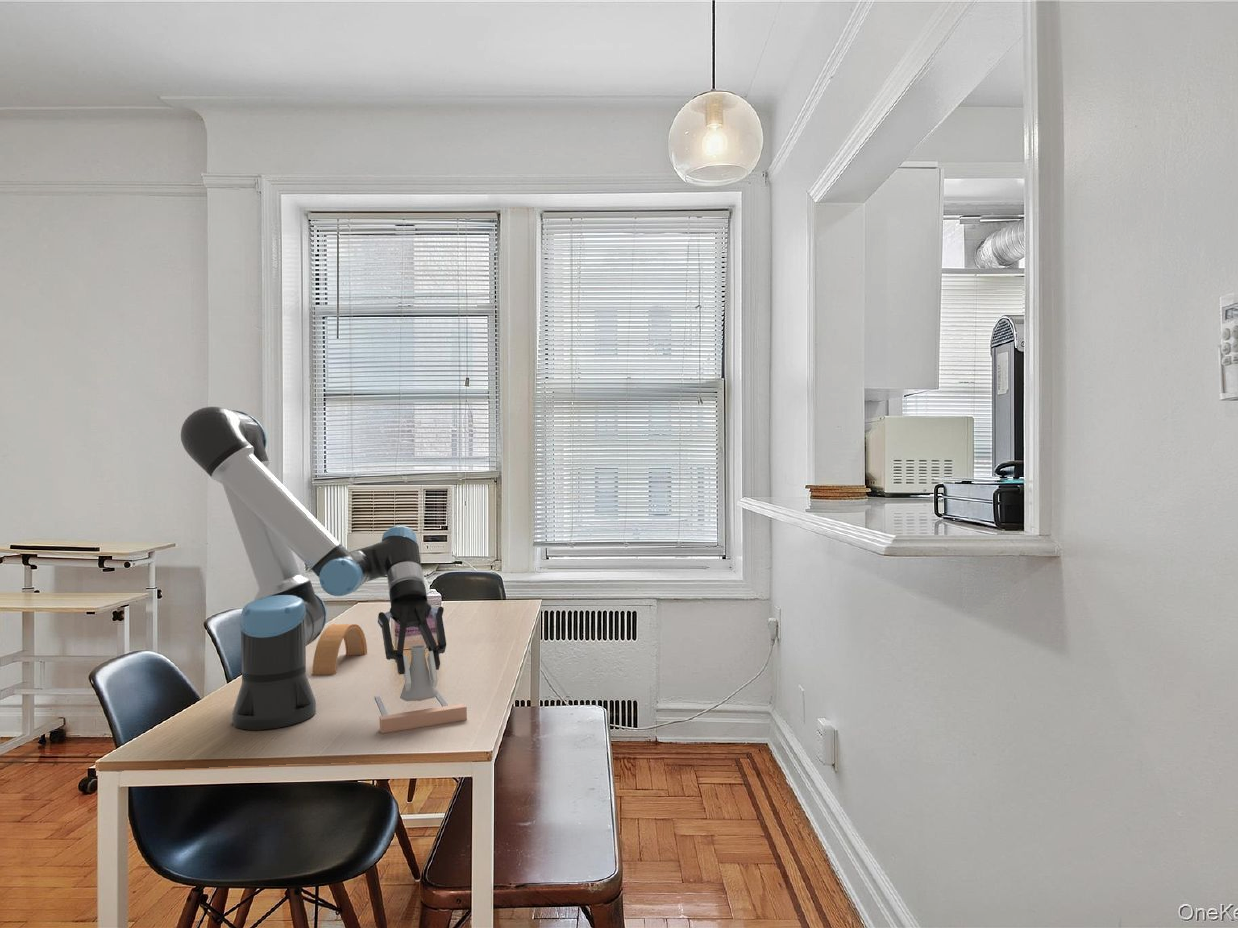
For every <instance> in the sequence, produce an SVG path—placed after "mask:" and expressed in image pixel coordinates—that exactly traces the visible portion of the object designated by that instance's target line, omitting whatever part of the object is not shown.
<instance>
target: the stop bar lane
mask: <svg viewBox="0 0 1238 928" xmlns="http://www.w3.org/2000/svg"><path fill="white" fill-rule="evenodd" d="M436 691H437V695H436V696H435V698H436V699H437V700H438V701H439V703H440V704H441V705H442V706H437V707H429V708H423V709H418V710H411V711H405V712H397V713H392V714H388V711H387V709H386V707H385V705H384V703H383V701H382V699H381V696H379V695H377V696H374V699H375V701H376V703H377V706H378V708H379V710H380V712H381V715H379V731H380V733H381V734H386V733H392V732H399V731H405V730H412V729H416V728H417V729H418V728H423V727H429V726H430V727H431V726H436V725H442V724H448V723H453V722H460V721H466V720H468V719H467V718H468V717H467V715H468V712H467V709H468V708H467V705H466V704H465V703H457V704H448V703H447V702H446V701H445V699H444V698H443V696H442V695H441V694H440V692H439V691H438V690H437V689H436Z"/></svg>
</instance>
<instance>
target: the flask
mask: <svg viewBox="0 0 1238 928" xmlns="http://www.w3.org/2000/svg"><path fill="white" fill-rule="evenodd" d="M426 649H427V646H426V644H416V645H411V646H410V647H409V650H410V651H411V655H410V656H411V657H410V658H411V659H410V663H409V670H410V677H411V688H410V691H406V688H405V683H404V684H403V687H402V690H401V693H400V695H399V698H400V699H401V700H403V701H405V702H422V701H426V700H430V699H431V700H432V699H434V698H436V695H437V691H438V690H437V688H436V687H432V684H431V678H430V672H429V666H428V665H427V664H428V662H427V659H426ZM436 690H437V691H436Z"/></svg>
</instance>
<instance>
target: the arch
mask: <svg viewBox="0 0 1238 928" xmlns="http://www.w3.org/2000/svg"><path fill="white" fill-rule="evenodd" d="M361 627H362V626H360V625H359V624H356V623H349V624H347V623H346V624H344V623H343V624H340V623H339V624H338V623H337V624H329V625H328V626H326V628H324V629H323V630H322V632H321V633H320V635H319V636H320V637H319V639H318V642H317V643H316V647H315V650H314V656H313V661H312V662H313V663H312V675H336V674H337V663H338V657H339V651H340V647H341V645H342V642H344V645H345V655H349V656H353V655H355V656H359V655H360V656H362V655H367V654H368V645H367V638H366V636H365V633H364V630H363V629H362V628H361Z"/></svg>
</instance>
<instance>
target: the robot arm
mask: <svg viewBox="0 0 1238 928" xmlns="http://www.w3.org/2000/svg"><path fill="white" fill-rule="evenodd" d="M180 441H181V444H182V446H183V449H184V451H186V454H188V455H189V456H190V458H191V459H192V460H193V461H194V462H195V463H196V464H197V465H198V466H199V467H201V469H202V470H203V471H205V472H206V473H207V474H208V476H209V477H211V479H212V480H214V481H216V482H218V483H220V484H221V485H222V486H223V489H224V492H225V495H226V498H227V501H228V503H229V504H228V505H229V506H230V509H231V513H232V515H233V517H234V520H235V521H234V522H235V523H236V526H237V529H238V531H239V535H240V538H241V540H242V543H243V547H244V549H245V553H246V555H247V557H248V558H247V559H248V561H249V564H250V567H251V570H252V572H253V575H254V578H255V581H256V584H257V587H258V591H257V593H256V595H255V596H254V598H253V600H252V601H250V602H248V603H247V604H246V605H244V606H243V608H242V610H241V616H240V623H239V627H240V628H239V629H240V636H241V637H240V645H241V646H240V647H241V653H240V654H241V656H240V657H241V686H240V687H239V692H238V693H237V694H238V695H237V698H236V700H235V704H234V706H233V710H232V715H231V716H232V719H231V720H232V722H231V723H232V725H233V727H234V728H236V729H241V730H247V731H248V730H249V731H259V730H260V731H262V730H263V731H264V730H272V729H278V728H284V727H288V726H292V725H295V724H298V723H301V722H304V721H307V720H309V719H310V718H312V717H313V716H314V715H315V714H317V713H316V712H317V703H316V702H317V701H316V698H315V695H314V692H313V690H312V686H311V684H310V682H309V679H308V676H307V659H306V658H307V653H306V652H307V651H306V650H307V646H308V645H310V644H312V643H313V642H314V641H316V640H317V639H318V637H319V636H321V634H322V633H323V631H324V629H325V625H326V623H327V619H328V612H327V610H328V609H327V607H326V604H325V602H324V600H323V599H322V598H321V597H320V596H319V595H318V594H316V593H315V590H314V587H313V584H312V581H311V579H310V578H308V577H307V576H303V575H302V574H301V573H300V572H301V571H300V570H299V566H298V563H297V561H296V558H295V555H294V553H295V554H296V556H297V557H298V558H299V559H300V560H301V561H302V562H303V563H305V565H306V566H307V567H308V568H309V569H310V570H312V571H313V573H314V574H315V575H316V576H317V577H318V580H319V584H320V586H321V588H322V589H323V591H324V592H325V593H326V594H328V595H330V596H333V597H344V596H346V595H350V594H352V593H354V592H355V591H357V590H358V589H360V587H361V586H363V584H365V583H368V582H372V581H373V580H377V579H380V578H383V577H387V578H386V579H387V584H388V585H387V586H388V594H389V601H390V602H389V604H390V608H389V611H387V612H382V611H381V612H378V616H377V623H378V625H379V626H380V628H381V632H382V633H381V634H382V639H383V640H382V641H383V645H384V654H385V659H387V660H389V661H391V660H395V661H394V662H395V663H396V668H397V674H398V675H403V678H404V684H405V688H406V691H410V688H411V677H410V670H409V668H410V663H409V657H408V653H405V654H404V649H405V639H406V631H407V629H408V628H411V627H412V628H413V627H415V628H417V630H418V631H419V632H420V634H421V637H422V640H423V641H424V643H425V644H424V645H425V646H426V649H427V651H428V655H427V659H426V660H427V664H428V665H427V666H428V670H429V673H430V678H431V684H432V687H435V688H436V687H437V684H438V681H439V680H438V673H437V671H438V670H439V669H440V666H441V660H440V659H441V658H440V654H445V652H446V650H447V649H446V648H447V639H446V634H445V633H446V631H445V626H444V620H443V616H444V612H445V609H444V607H443V606H438V608H437V607H436V608H435V607H432V605H431V604H430V602H429V600H428V596H427V589H426V584H425V579H424V573H423V568H422V561H421V556H420V555H421V554H420V545H419V543H418V541H417V535H416V532H415V531H414V530H413V529H412V528H410V527H408V526H405V525H397V526H396V525H395V526H393V527H390V528H389V529H388V530H385V531H384V533H383V534H382V537H381V541H380V542H377V543H375V544H372V545H369V546H365V547H362V548H358V549H354V550H352V551H349V550H348V549H347V548H346V547H345V546H343V544H341V542H340V541H339V540H338V539H337V537H335V536H334V535H333V534H332V533H331V532H330V531H329V530H328V529H327V528H326V527H325V526H324V525H323V524H322V523H321V522H320V521H319V520H318V519H317V518H316V517H315V516H314V515H313V514H312V512H310V510H309V509H307V508H306V507H305V505H303V504H302V502H300V501H299V499H298V498H296V496H295V495H294V494H293V493H292V492H291V491H290V490H289V489H288V488H287V487H286V486H285V485H284V484H283V483H282V482H281V481H280V480H279V479H278V478H277V477H276V476H275V474H273V473H272V472H271V471H270V470H269V469H268V466H269V465H270V460H269V458H268V454H267V452H266V447H267V444H268V443H267V441H268V439H267V434H266V431H265V429H264V427H263V426H262V424H261V423H260V422H259V421H258V420H257V419H256V418H254V417H253V416H252V415H250V414H247V413H245V412H244V411H240V410H236V409H235V410H231V409H227V408H225V407H220V406H206V407H201V408H200V409H199V408H198V409H197V410H194V411H193V412H192V413H190V414H189V415H188V417H187V418H185V420H184V422H183V424H182V426H181V429H180ZM430 615H431V616H432V617H431V618H432V619H433V620H434V625H435V626H434V627H435V634H436V639H437V640H435V637H434V636H433V633H432V631H431V628H430V627H429V624H428V620H427V619H428V618H429V616H430ZM391 619H392V620H393V621H395V623H397V624H398V625H399V631H398V638H397V645H396V647H397V648H396V649H394V645H393V641H392V640H393V639H392V634H391V633H392V632H391V627H390V622H391ZM436 641H437V642H436Z"/></svg>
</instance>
